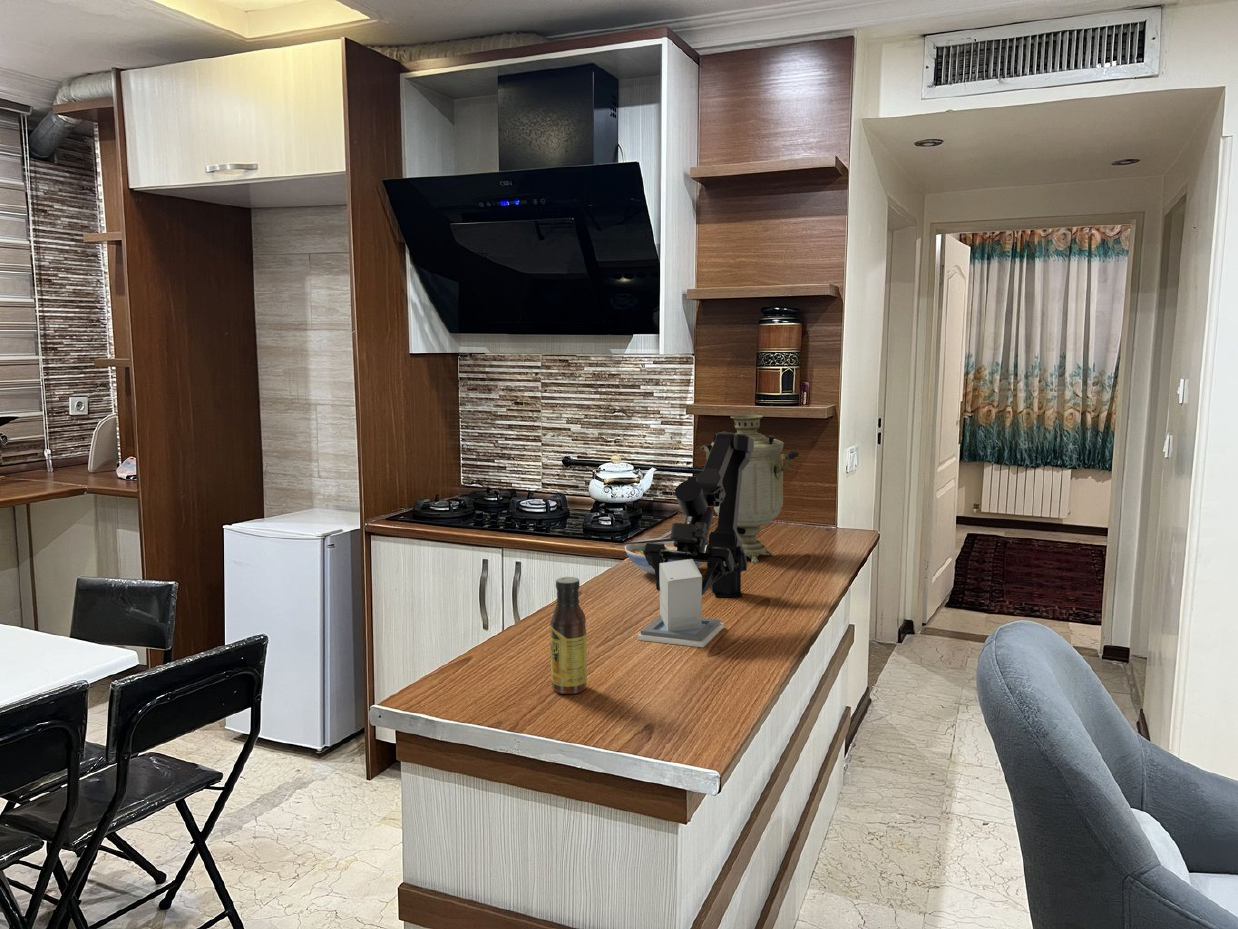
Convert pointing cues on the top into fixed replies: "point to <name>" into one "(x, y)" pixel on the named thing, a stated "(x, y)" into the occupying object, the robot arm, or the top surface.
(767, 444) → the samovar
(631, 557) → the ramen bowl
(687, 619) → the supplement box
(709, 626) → the grey square tray
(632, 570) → the top surface
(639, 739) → the top surface
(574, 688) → the sauce bottle
